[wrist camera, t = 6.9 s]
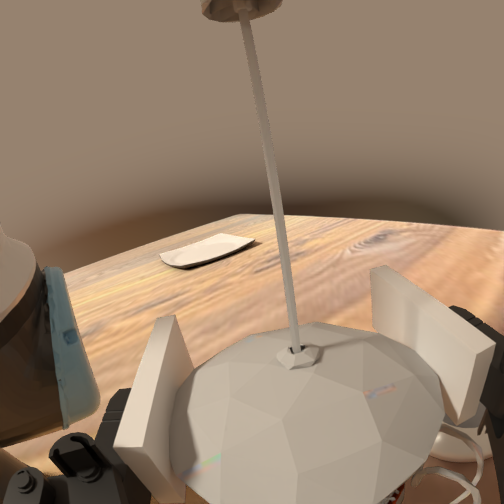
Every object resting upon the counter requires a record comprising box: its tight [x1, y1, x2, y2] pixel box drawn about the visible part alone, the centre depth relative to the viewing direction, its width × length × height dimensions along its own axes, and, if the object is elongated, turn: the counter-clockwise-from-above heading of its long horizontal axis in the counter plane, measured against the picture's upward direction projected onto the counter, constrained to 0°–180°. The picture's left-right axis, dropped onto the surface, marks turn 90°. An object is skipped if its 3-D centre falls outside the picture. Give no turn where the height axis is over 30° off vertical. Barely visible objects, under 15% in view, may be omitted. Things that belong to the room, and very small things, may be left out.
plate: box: [159, 233, 255, 268], centre depth 107 cm, size 29×29×3 cm
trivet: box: [429, 402, 493, 463], centre depth 23 cm, size 16×16×2 cm
